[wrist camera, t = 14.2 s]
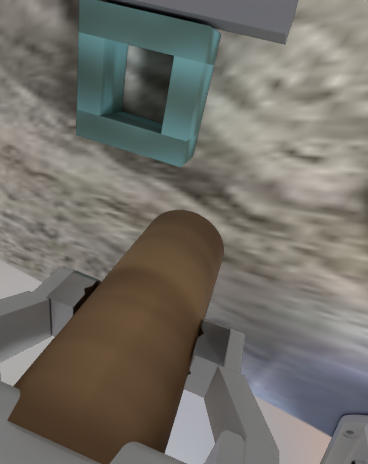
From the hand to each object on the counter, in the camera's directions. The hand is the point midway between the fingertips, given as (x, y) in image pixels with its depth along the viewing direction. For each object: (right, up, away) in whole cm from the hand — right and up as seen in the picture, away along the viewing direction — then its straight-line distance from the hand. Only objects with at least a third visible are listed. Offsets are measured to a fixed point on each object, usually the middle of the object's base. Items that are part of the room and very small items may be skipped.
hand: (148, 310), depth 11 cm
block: (-1, +16, +16) cm, 23 cm away
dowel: (+1, +2, +4) cm, 5 cm away
